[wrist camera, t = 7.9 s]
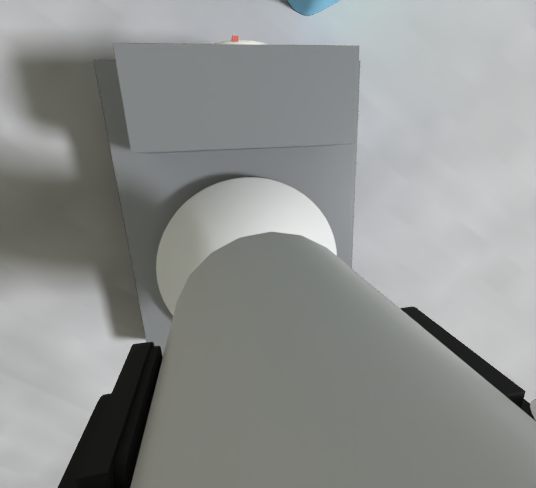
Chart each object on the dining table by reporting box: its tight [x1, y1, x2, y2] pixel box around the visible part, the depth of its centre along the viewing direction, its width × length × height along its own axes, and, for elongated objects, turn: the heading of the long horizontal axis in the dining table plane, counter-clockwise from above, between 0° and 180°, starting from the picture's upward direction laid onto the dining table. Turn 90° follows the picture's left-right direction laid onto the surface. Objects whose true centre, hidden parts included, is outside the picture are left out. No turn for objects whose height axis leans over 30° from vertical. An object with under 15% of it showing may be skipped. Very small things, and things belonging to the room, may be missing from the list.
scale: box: [94, 36, 360, 357], centre depth 18 cm, size 18×14×7 cm
